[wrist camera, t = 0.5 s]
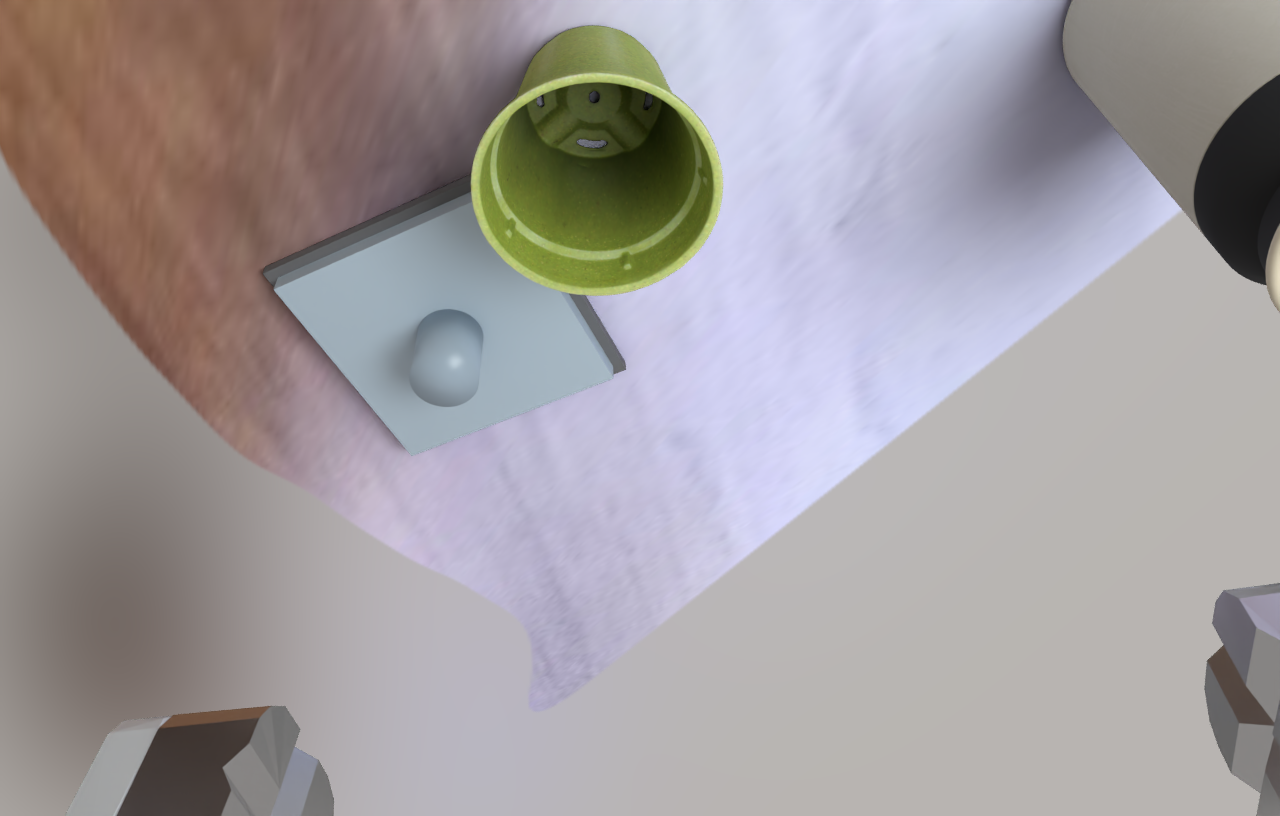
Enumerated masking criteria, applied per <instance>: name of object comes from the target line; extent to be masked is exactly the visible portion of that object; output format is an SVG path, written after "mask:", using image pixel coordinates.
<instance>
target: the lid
mask: <svg viewBox="0 0 1280 816" xmlns="http://www.w3.org/2000/svg"><path fill="white" fill-rule="evenodd" d="M274 291H275V292H276V293H277V294H278V296H279V297H280V298H281V299H282V300H283V302H284V303H285V304H286V305H287V307H288V308H289V309H290V310H291V311H292V313H293V314H294V315H295V316H296V317H297V319H298V320H299V321H300V322H301V323H302V325H303V326H304V327H305V328H306V329H307V331H308V332H309V333H310V334H311V335H312V337H313V338H314V339H315V340H316V341H317V343H318V344H319V345H320V346H321V347H322V349H323V350H324V351H325V352H326V354H327V355H328V356H329V357H330V358H331V360H332V361H333V362H334V363H335V364H336V366H337V367H338V368H339V369H340V370H341V372H342V373H343V374H344V375H345V376H346V378H347V379H348V380H349V381H350V382H351V384H352V385H353V386H354V387H355V388H356V390H357V391H358V392H359V393H360V394H361V396H362V397H363V398H364V399H365V401H366V402H367V403H368V404H369V405H370V407H371V408H372V409H373V410H374V411H375V413H376V414H377V415H378V416H379V417H380V419H381V420H382V421H383V422H384V423H385V425H386V426H387V427H388V428H389V429H390V431H391V432H392V433H393V434H394V435H395V437H396V438H397V439H398V440H399V442H400V443H401V444H402V445H403V446H404V448H405V449H406V450H407V451H408V452H409V454H410V455H411V456H413V455H416V454H418V453H421V452H424V451H426V450H429V449H431V448H434V447H437V446H439V445H442V444H444V443H447V442H450V441H452V440H455V439H457V438H460V437H463V436H465V435H468V434H470V433H473V432H476V431H478V430H481V429H483V428H486V427H489V426H491V425H494V424H496V423H499V422H502V421H504V420H507V419H509V418H512V417H515V416H517V415H520V414H522V413H525V412H528V411H530V410H533V409H535V408H538V407H541V406H543V405H546V404H548V403H551V402H554V401H556V400H559V399H561V398H564V397H567V396H569V395H572V394H574V393H577V392H580V391H582V390H585V389H587V388H590V387H592V386H595V385H598V384H600V383H603V382H605V381H608V380H611V379H613V378H614V377H613V365H612V364H611V362H610V360H609V359H608V357H607V356H606V354H605V352H604V351H603V349H602V347H601V346H600V344H599V342H598V341H597V339H596V337H595V336H594V334H593V333H592V331H591V329H590V328H589V326H588V324H587V323H586V321H585V319H584V318H583V316H582V314H581V313H580V311H579V310H578V308H577V306H576V305H575V303H574V301H573V300H572V298H571V296H570V295H569V293H565V292H561V291H557V290H554V289H551V288H548V287H545V286H543V285H540V284H538V283H536V282H533V281H532V280H530V279H528V278H527V277H525V276H523V275H522V274H520V273H519V272H517V271H516V270H514V269H513V268H512V267H511V266H509V265H508V264H507V263H506V262H505V261H504V260H503V259H502V258H501V257H500V256H499V255H498V254H497V252H496V251H495V250H494V249H493V247H492V246H491V245H490V244H489V243H488V241H487V240H486V238H485V236H484V234H483V232H482V230H481V228H480V226H479V224H478V221H477V218H476V215H475V212H474V208H473V204H472V198H471V192H469V193H467V194H465V195H462V196H460V197H458V198H456V199H453V200H451V201H449V202H447V203H445V204H442V205H440V206H438V207H436V208H433V209H431V210H429V211H427V212H424V213H422V214H420V215H418V216H415V217H413V218H411V219H409V220H406V221H404V222H402V223H400V224H397V225H395V226H393V227H391V228H388V229H386V230H384V231H382V232H379V233H377V234H375V235H373V236H370V237H368V238H366V239H364V240H361V241H359V242H357V243H355V244H352V245H350V246H348V247H346V248H343V249H341V250H339V251H337V252H334V253H332V254H330V255H328V256H326V257H323V258H321V259H319V260H317V261H314V262H312V263H310V264H308V265H305V266H303V267H301V268H299V269H296V270H294V271H292V272H290V273H287V274H285V275H283V276H281V277H278V279H277V281H276V284H275V287H274Z"/></svg>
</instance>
